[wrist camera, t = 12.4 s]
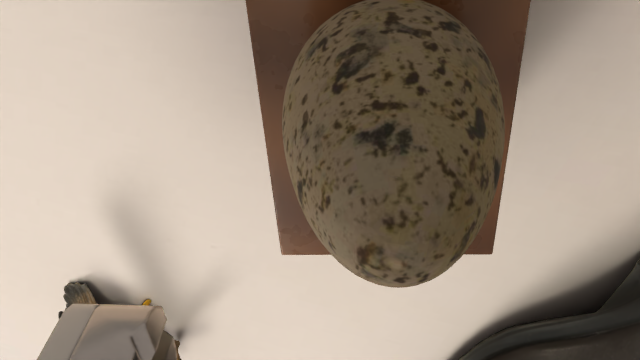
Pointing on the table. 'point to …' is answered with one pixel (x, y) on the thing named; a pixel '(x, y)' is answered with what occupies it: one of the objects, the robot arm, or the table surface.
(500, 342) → the loafer
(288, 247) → the shelf
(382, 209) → the decorative egg
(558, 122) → the table surface
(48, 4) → the table surface
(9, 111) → the table surface
